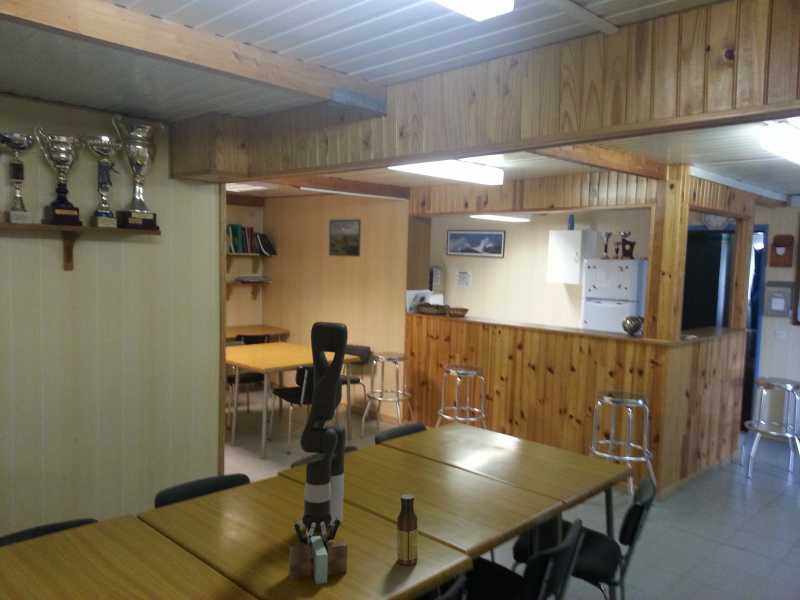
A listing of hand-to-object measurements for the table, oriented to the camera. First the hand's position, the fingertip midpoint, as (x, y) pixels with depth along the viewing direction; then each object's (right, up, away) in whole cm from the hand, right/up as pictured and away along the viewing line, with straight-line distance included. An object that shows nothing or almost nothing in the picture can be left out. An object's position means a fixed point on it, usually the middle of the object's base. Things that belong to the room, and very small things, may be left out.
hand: (315, 554), depth 176 cm
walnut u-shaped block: (+1, -4, -4) cm, 5 cm away
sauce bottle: (+26, -5, +5) cm, 27 cm away
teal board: (+1, -4, -3) cm, 5 cm away
